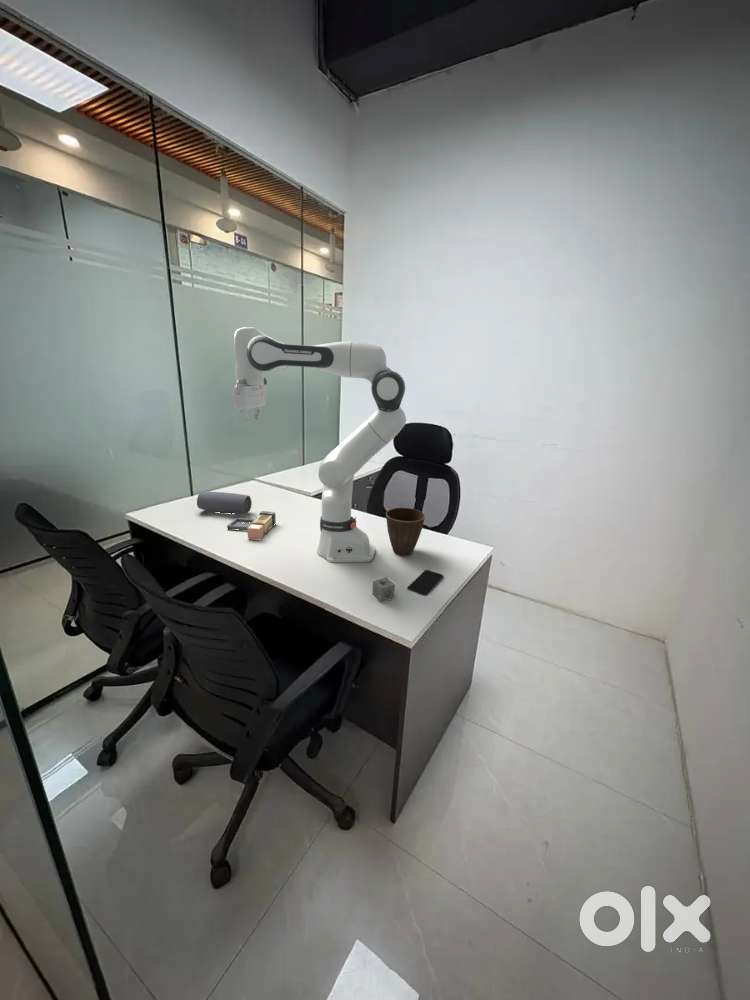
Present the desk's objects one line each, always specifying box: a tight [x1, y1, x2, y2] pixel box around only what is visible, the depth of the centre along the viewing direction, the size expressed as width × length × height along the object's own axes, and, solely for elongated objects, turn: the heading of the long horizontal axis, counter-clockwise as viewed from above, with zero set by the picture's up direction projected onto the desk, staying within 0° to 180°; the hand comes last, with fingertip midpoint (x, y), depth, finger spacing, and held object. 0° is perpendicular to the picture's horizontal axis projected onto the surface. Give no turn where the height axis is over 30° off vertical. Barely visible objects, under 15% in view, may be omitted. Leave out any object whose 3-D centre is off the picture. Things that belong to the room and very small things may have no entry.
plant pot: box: [385, 507, 426, 557], centre depth 142 cm, size 15×15×16 cm
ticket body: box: [253, 510, 277, 535], centre depth 157 cm, size 6×12×6 cm, turn 176°
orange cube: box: [246, 524, 264, 540], centre depth 149 cm, size 5×4×5 cm
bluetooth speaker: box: [196, 491, 252, 514], centre depth 172 cm, size 23×9×10 cm, turn 84°
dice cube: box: [371, 576, 396, 604], centre depth 114 cm, size 5×5×5 cm
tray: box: [226, 517, 256, 530], centre depth 159 cm, size 9×9×2 cm
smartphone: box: [407, 569, 445, 597], centre depth 123 cm, size 7×1×15 cm
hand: (251, 421), depth 128 cm, fingers open, 8 cm apart
